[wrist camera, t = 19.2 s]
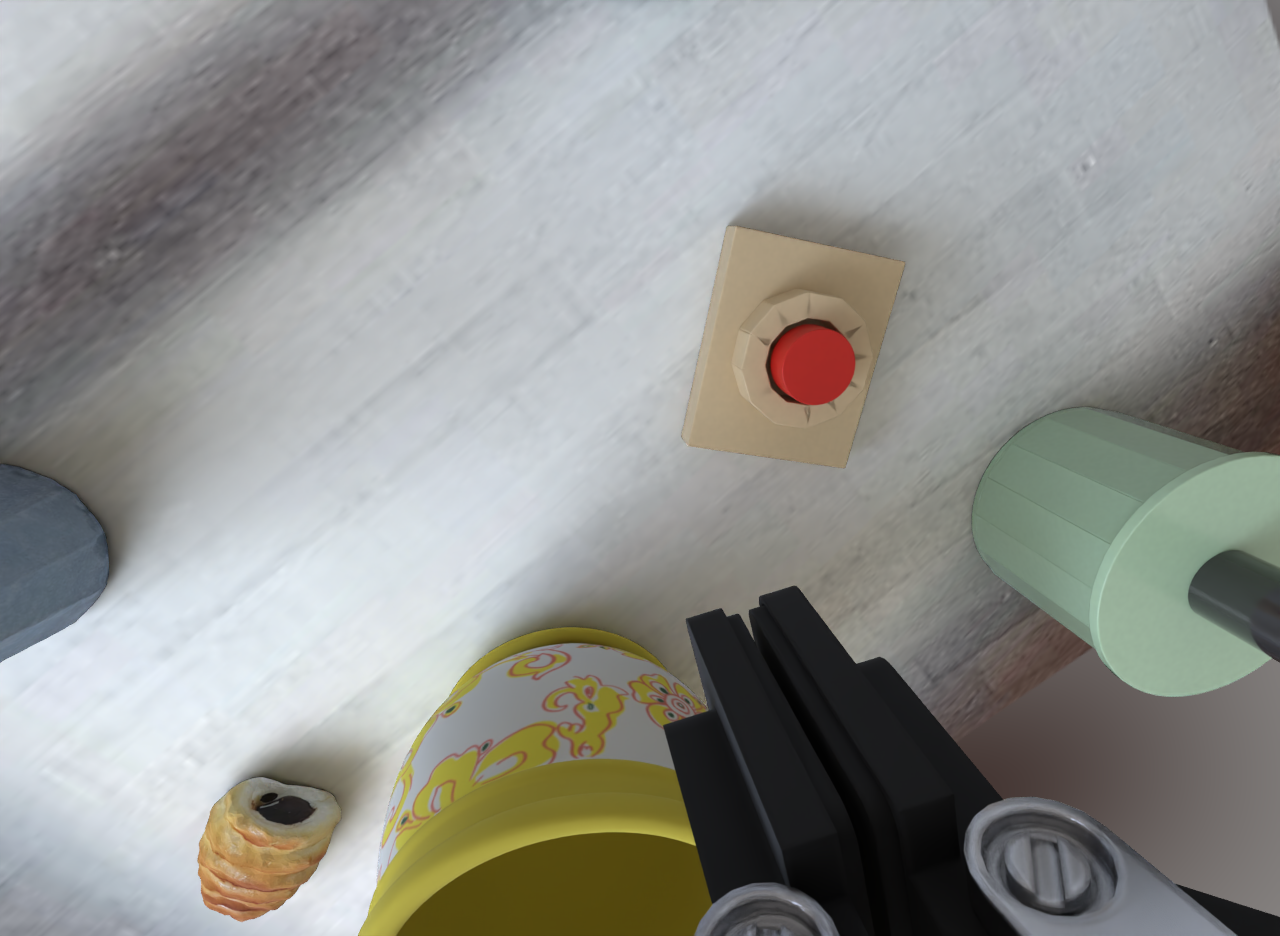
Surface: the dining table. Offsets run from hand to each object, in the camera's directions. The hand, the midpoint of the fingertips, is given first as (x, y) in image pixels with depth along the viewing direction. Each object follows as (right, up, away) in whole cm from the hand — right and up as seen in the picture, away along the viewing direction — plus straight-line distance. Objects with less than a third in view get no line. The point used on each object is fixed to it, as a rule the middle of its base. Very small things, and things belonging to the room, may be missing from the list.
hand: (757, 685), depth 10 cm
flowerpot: (-6, -12, +32) cm, 35 cm away
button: (+6, +8, +24) cm, 26 cm away
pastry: (-24, -18, +32) cm, 44 cm away
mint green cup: (+24, +1, +33) cm, 41 cm away
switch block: (+6, +9, +27) cm, 29 cm away
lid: (+26, -2, +23) cm, 35 cm away
